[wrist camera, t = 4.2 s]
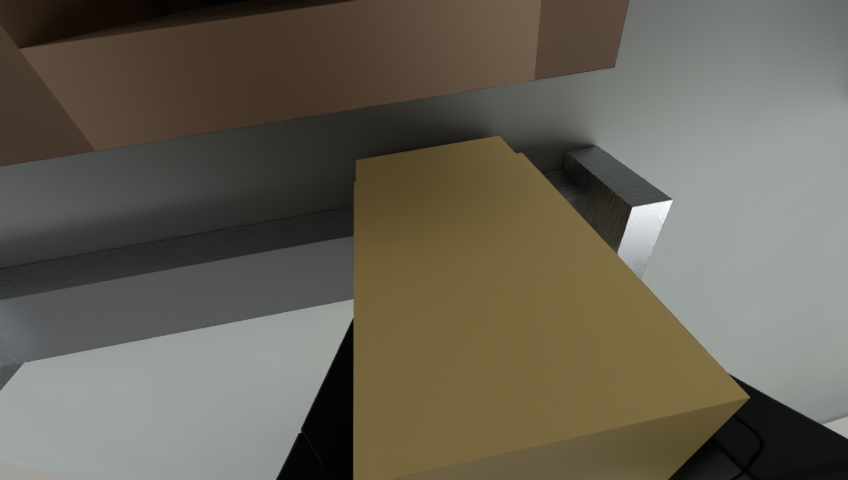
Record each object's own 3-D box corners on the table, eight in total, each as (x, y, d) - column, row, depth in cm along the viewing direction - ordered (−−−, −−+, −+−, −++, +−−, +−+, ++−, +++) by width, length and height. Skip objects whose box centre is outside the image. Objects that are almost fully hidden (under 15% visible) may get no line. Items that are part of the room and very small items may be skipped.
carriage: (499, 128, 9) (751, 398, 3) (494, 281, 13) (610, 536, 7) (354, 153, 9) (353, 486, 3) (391, 302, 13) (423, 582, 7)
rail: (597, 146, 11) (673, 199, 8) (577, 237, 13) (631, 301, 10) (-99, 267, 9) (-264, 374, 7) (13, 344, 12) (-80, 445, 9)
